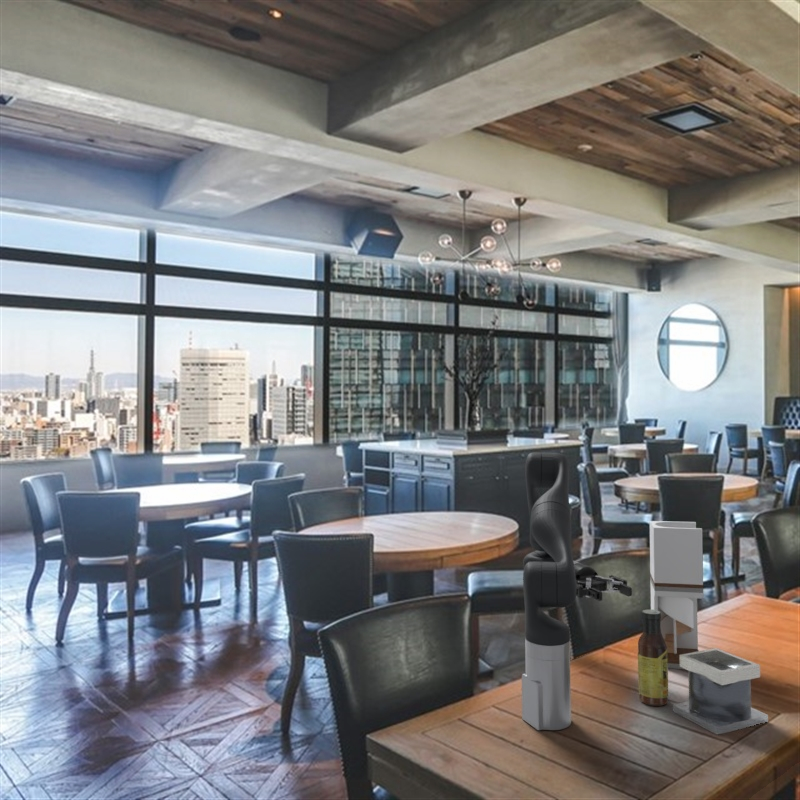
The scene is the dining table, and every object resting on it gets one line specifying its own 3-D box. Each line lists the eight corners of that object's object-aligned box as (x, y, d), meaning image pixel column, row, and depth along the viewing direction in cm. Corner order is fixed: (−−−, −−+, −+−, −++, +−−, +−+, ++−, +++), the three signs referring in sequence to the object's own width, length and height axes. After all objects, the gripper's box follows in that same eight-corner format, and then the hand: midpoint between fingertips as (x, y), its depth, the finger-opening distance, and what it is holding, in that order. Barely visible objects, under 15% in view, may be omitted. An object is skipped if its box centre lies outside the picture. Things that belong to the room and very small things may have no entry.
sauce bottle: (670, 708, 158) (669, 616, 158) (640, 706, 159) (639, 615, 159) (665, 696, 164) (664, 608, 164) (636, 694, 165) (635, 607, 165)
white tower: (655, 667, 182) (653, 527, 182) (651, 652, 192) (649, 520, 193) (704, 670, 179) (702, 528, 180) (697, 655, 190) (695, 522, 190)
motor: (717, 734, 145) (716, 674, 145) (673, 711, 156) (672, 655, 156) (768, 722, 150) (767, 664, 150) (722, 700, 161) (721, 646, 161)
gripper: (552, 565, 186) (591, 582, 170) (599, 559, 191) (640, 575, 176) (552, 594, 186) (591, 613, 171) (599, 588, 191) (640, 606, 176)
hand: (616, 594), depth 173 cm, fingers open, 8 cm apart
